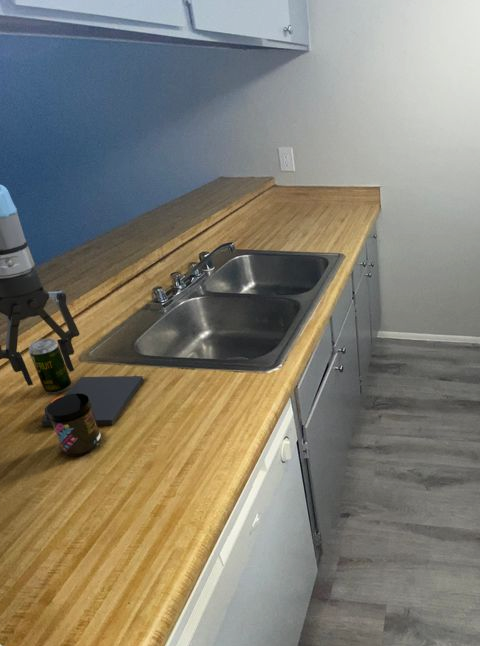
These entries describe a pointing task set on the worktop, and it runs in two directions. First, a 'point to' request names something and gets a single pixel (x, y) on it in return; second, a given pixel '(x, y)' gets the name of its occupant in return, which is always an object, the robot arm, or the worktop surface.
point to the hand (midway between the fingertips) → (50, 375)
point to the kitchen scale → (104, 396)
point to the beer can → (50, 366)
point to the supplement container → (74, 424)
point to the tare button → (55, 399)
